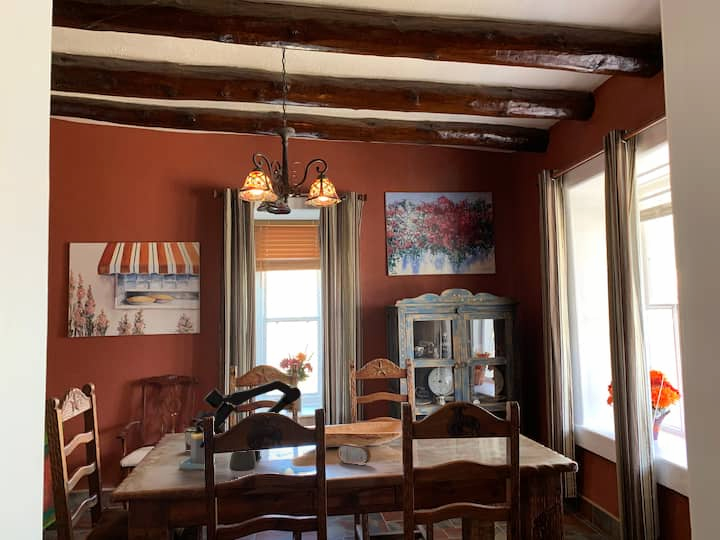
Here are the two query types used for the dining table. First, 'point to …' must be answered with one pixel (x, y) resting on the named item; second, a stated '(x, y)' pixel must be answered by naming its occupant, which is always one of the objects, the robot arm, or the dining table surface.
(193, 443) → the caddy
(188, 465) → the tray
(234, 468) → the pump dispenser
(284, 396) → the robot arm
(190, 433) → the food container
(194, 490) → the dining table surface
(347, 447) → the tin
